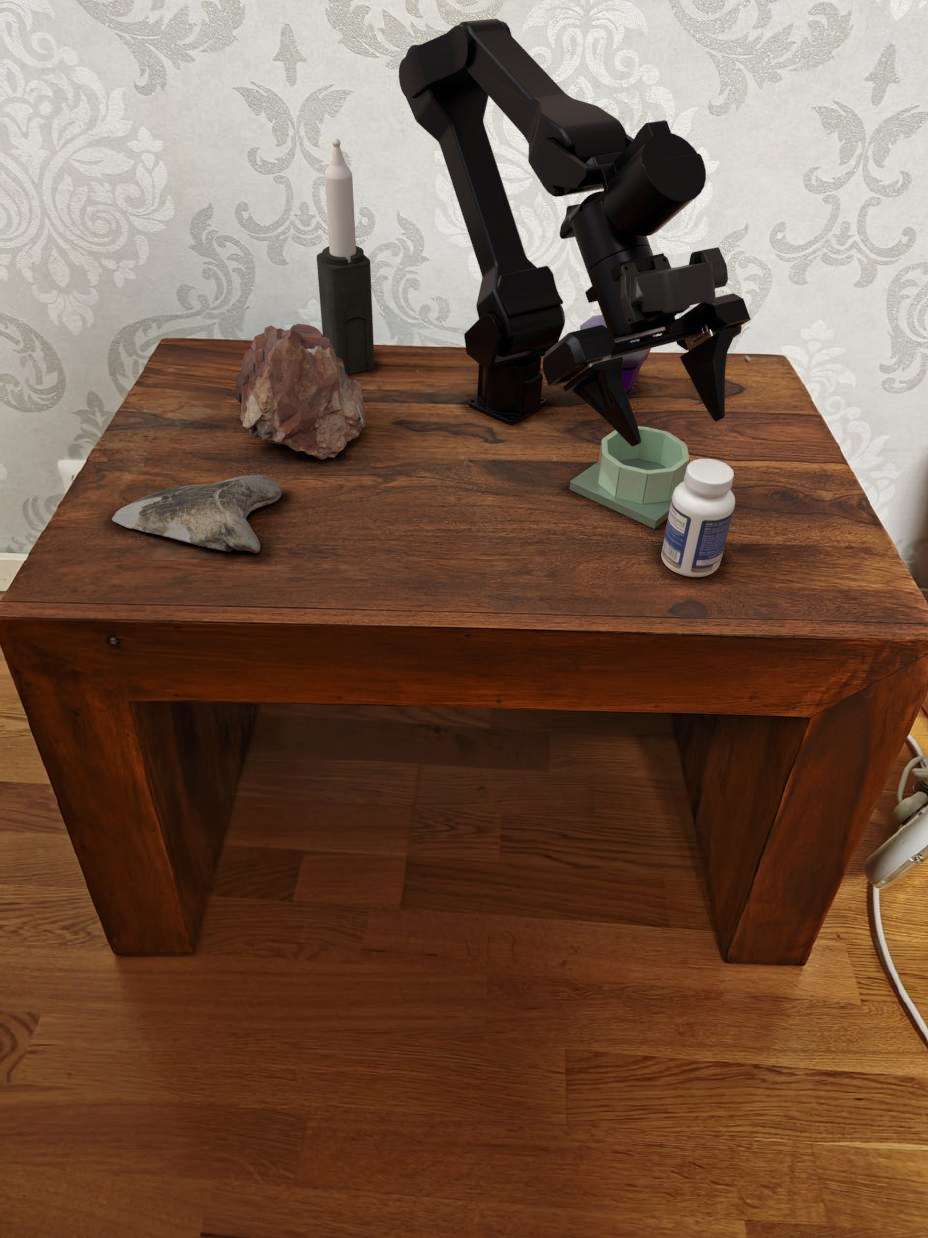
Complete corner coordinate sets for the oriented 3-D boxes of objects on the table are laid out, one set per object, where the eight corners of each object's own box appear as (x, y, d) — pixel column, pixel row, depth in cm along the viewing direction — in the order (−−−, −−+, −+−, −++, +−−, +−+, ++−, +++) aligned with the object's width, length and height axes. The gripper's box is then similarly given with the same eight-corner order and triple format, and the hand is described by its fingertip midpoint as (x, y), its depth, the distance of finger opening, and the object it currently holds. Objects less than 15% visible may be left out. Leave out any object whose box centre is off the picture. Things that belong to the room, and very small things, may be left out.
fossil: (122, 457, 93) (274, 451, 92) (138, 493, 97) (285, 488, 95) (86, 538, 86) (251, 532, 84) (105, 574, 89) (264, 569, 88)
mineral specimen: (280, 500, 102) (243, 397, 109) (391, 450, 102) (346, 349, 109) (236, 439, 92) (197, 329, 98) (359, 383, 92) (312, 276, 98)
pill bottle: (723, 550, 90) (746, 460, 83) (715, 584, 86) (738, 493, 80) (665, 537, 91) (683, 448, 85) (655, 571, 87) (673, 480, 81)
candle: (337, 377, 113) (321, 148, 96) (321, 359, 116) (303, 134, 100) (377, 368, 115) (369, 142, 98) (361, 351, 118) (349, 129, 101)
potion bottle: (613, 361, 118) (626, 263, 110) (663, 390, 113) (681, 290, 105) (558, 379, 114) (568, 279, 106) (608, 410, 109) (622, 308, 101)
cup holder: (568, 489, 97) (573, 450, 94) (623, 450, 103) (629, 412, 100) (654, 529, 92) (662, 489, 89) (707, 485, 98) (715, 447, 95)
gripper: (574, 234, 73) (643, 429, 73) (760, 197, 80) (822, 376, 80) (513, 297, 83) (574, 468, 83) (683, 260, 90) (738, 418, 91)
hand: (679, 432), depth 84 cm, fingers open, 9 cm apart
